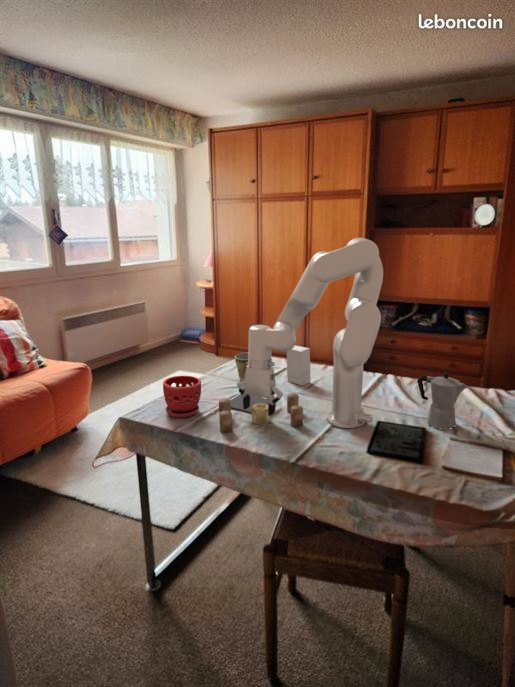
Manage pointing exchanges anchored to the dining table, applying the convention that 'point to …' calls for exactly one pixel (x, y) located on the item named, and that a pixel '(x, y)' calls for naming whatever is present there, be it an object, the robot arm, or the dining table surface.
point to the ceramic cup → (241, 364)
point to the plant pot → (182, 395)
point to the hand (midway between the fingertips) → (258, 411)
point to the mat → (238, 402)
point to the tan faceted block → (260, 413)
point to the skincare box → (298, 365)
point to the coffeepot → (442, 399)
